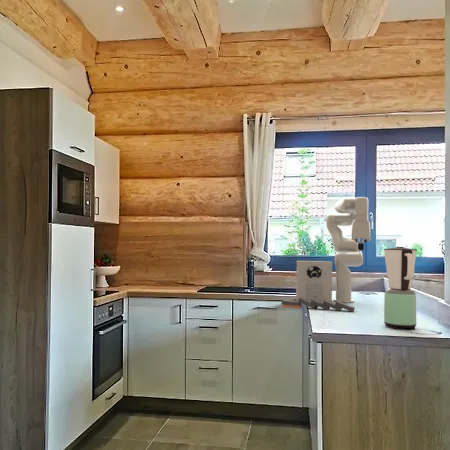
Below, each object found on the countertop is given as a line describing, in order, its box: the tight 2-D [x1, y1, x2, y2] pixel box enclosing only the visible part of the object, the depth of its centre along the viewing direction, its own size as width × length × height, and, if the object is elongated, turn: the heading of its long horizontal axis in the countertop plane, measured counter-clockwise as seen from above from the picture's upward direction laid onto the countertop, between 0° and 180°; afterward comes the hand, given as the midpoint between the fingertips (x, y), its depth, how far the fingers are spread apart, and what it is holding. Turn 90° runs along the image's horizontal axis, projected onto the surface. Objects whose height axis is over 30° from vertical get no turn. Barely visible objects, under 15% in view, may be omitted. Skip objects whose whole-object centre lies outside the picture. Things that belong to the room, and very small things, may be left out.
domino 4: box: [310, 299, 331, 311], centre depth 251 cm, size 5×2×10 cm
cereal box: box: [295, 260, 333, 303], centre depth 290 cm, size 22×8×25 cm, turn 84°
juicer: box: [383, 246, 418, 331], centre depth 197 cm, size 19×13×35 cm
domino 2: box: [281, 304, 303, 309], centre depth 256 cm, size 5×2×10 cm
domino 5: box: [323, 300, 343, 312], centre depth 248 cm, size 5×2×10 cm
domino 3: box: [298, 298, 319, 310], centre depth 254 cm, size 5×2×10 cm
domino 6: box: [334, 301, 356, 313], centre depth 246 cm, size 5×2×10 cm
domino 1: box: [281, 299, 302, 306], centre depth 257 cm, size 5×2×10 cm
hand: (360, 250), depth 260 cm, fingers closed
